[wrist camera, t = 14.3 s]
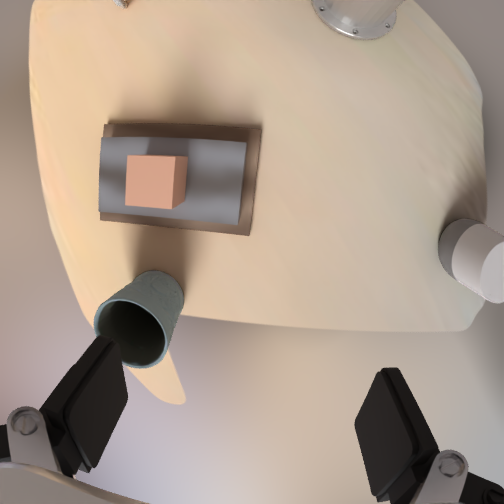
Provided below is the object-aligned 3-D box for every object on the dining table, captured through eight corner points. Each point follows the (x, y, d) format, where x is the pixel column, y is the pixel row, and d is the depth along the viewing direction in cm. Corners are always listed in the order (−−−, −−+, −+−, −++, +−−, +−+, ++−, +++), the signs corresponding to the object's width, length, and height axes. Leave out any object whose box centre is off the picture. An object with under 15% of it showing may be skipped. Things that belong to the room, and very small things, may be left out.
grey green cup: (140, 325, 47) (111, 369, 36) (119, 268, 44) (81, 303, 33) (197, 318, 46) (178, 367, 35) (178, 257, 43) (151, 293, 32)
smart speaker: (452, 203, 39) (511, 225, 25) (483, 233, 40) (537, 261, 26) (422, 254, 41) (472, 292, 28) (455, 280, 42) (502, 319, 29)
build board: (107, 124, 37) (93, 123, 33) (261, 130, 37) (261, 127, 33) (103, 218, 41) (90, 225, 38) (249, 234, 41) (248, 242, 38)
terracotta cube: (145, 154, 35) (127, 155, 29) (188, 156, 35) (175, 157, 29) (143, 197, 36) (125, 205, 31) (184, 201, 36) (171, 209, 31)
